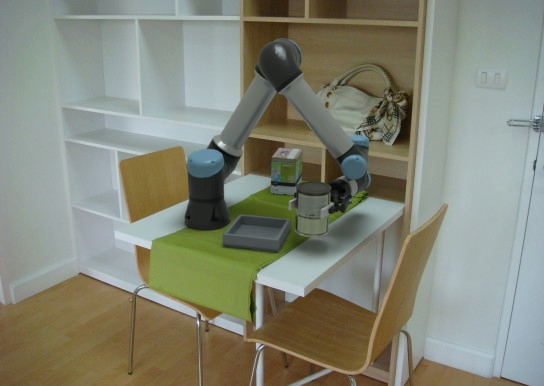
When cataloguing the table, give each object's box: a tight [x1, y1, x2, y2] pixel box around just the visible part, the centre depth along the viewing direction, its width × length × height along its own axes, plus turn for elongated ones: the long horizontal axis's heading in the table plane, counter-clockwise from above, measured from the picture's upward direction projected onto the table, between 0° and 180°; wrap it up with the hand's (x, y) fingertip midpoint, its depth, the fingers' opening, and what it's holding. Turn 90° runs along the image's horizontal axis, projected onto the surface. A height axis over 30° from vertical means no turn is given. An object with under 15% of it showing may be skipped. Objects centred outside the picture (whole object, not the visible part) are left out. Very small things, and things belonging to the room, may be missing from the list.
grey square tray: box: [222, 213, 292, 253], centre depth 175 cm, size 17×17×4 cm
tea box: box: [270, 147, 303, 196], centre depth 219 cm, size 15×10×15 cm
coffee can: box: [294, 180, 331, 239], centre depth 167 cm, size 10×10×14 cm
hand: (305, 210), depth 164 cm, fingers closed on coffee can, 10 cm apart
